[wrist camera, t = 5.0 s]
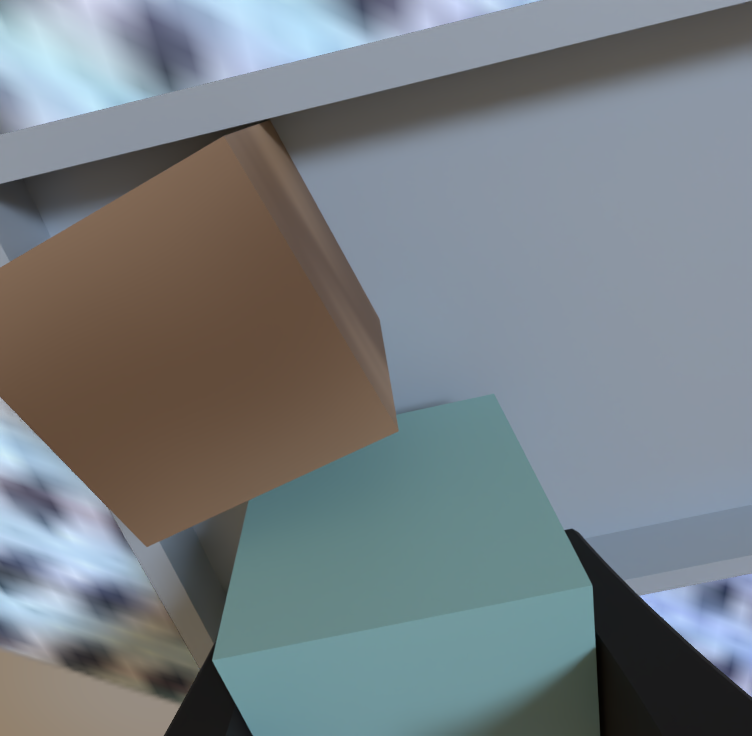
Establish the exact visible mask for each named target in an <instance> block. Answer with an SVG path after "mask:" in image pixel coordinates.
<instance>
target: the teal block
mask: <svg viewBox="0 0 752 736" xmlns="http://www.w3.org/2000/svg"><path fill="white" fill-rule="evenodd" d="M396 417H397V423H398V429H399V431H398V432H396V433H394V434H392V435H390V436H387V437H385V438H383V439H381V440H379V441H377V442H374V443H372V444H370V445H368V446H366V447H364V448H361V449H359V450H357V451H355V452H353V453H350V454H348V455H346V456H344V457H342V458H340V459H337V460H335V461H333V462H331V463H329V464H327V465H324V466H322V467H320V468H318V469H316V470H314V471H311V472H309V473H307V474H305V475H303V476H301V477H298V478H296V479H294V480H292V481H290V482H288V483H285V484H283V485H281V486H279V487H277V488H274V489H272V490H270V491H268V492H266V493H264V494H261V495H259V496H257V497H255V498H253V499H251V500H249V502H248V506H247V510H246V515H245V519H244V523H243V528H242V532H241V537H240V541H239V545H238V550H237V554H236V558H235V563H234V567H233V571H232V576H231V580H230V585H229V589H228V593H227V598H226V602H225V606H224V611H223V615H222V619H221V624H220V628H219V632H218V637H217V641H216V646H215V650H214V654H213V659H212V661H213V663H214V665H215V667H216V669H217V671H218V672H219V674H220V676H221V678H222V680H223V682H224V683H225V685H226V687H227V689H228V691H229V693H230V694H231V696H232V698H233V700H234V702H235V704H236V705H237V707H238V709H239V711H240V713H241V715H242V717H243V718H244V720H245V722H246V724H247V726H248V728H249V729H250V731H251V733H252V735H253V736H600V723H599V703H598V684H597V664H596V644H595V625H594V605H593V586H592V583H591V581H590V580H589V578H588V576H587V574H586V572H585V570H584V568H583V566H582V564H581V562H580V560H579V558H578V556H577V554H576V552H575V550H574V548H573V546H572V544H571V543H570V541H569V539H568V537H567V535H566V533H565V531H564V529H563V527H562V525H561V523H560V521H559V519H558V517H557V515H556V513H555V511H554V509H553V507H552V506H551V504H550V502H549V500H548V498H547V496H546V494H545V492H544V490H543V488H542V486H541V484H540V482H539V480H538V478H537V476H536V474H535V472H534V470H533V469H532V467H531V465H530V463H529V461H528V459H527V457H526V455H525V453H524V451H523V449H522V447H521V445H520V443H519V441H518V439H517V437H516V435H515V433H514V432H513V430H512V428H511V426H510V424H509V422H508V420H507V418H506V416H505V414H504V412H503V410H502V408H501V406H500V404H499V402H498V400H497V398H496V396H495V395H494V394H490V395H485V396H481V397H476V398H471V399H467V400H462V401H457V402H453V403H448V404H443V405H439V406H434V407H430V408H425V409H420V410H416V411H411V412H406V413H402V414H397V415H396Z"/></svg>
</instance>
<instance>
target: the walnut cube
mask: <svg viewBox="0 0 752 736" xmlns="http://www.w3.org/2000/svg"><path fill="white" fill-rule="evenodd" d="M0 397H1V398H2V399H3V400H4V401H5V402H6V403H7V404H8V405H9V406H10V407H11V408H12V409H13V410H14V411H15V412H16V413H17V414H18V415H19V417H20V418H21V419H22V420H23V421H24V422H25V423H26V424H27V425H28V426H29V427H30V428H31V429H32V430H33V431H34V432H35V433H36V434H37V435H38V436H39V437H40V438H41V439H42V440H43V441H44V442H45V443H46V444H47V445H48V446H49V447H50V448H51V449H52V450H53V452H54V453H55V454H56V455H57V456H58V457H59V458H60V459H61V460H62V461H63V462H64V463H65V464H66V465H67V466H68V467H69V468H70V469H71V470H72V471H73V472H74V473H75V474H76V475H77V476H78V477H79V478H80V479H81V480H82V481H83V482H84V483H85V484H86V485H87V486H88V488H89V489H90V490H91V491H92V492H93V493H94V494H95V495H96V496H97V497H98V498H99V499H100V500H101V501H102V502H103V503H104V504H105V505H106V506H107V507H108V508H109V509H110V510H111V511H112V512H113V513H114V514H115V515H116V516H117V517H118V518H119V519H120V520H121V521H122V523H123V524H124V525H125V526H126V527H127V528H128V529H129V530H130V531H131V532H132V533H133V534H134V535H135V536H136V537H137V538H138V539H139V540H140V541H141V542H142V543H143V544H144V545H145V546H146V547H149V546H151V545H153V544H155V543H157V542H159V541H162V540H164V539H166V538H168V537H170V536H172V535H175V534H177V533H179V532H181V531H183V530H185V529H188V528H190V527H192V526H194V525H196V524H198V523H201V522H203V521H205V520H207V519H209V518H212V517H214V516H216V515H218V514H220V513H222V512H225V511H227V510H229V509H231V508H233V507H235V506H238V505H240V504H242V503H244V502H246V501H248V500H251V499H253V498H255V497H257V496H259V495H261V494H264V493H266V492H268V491H270V490H272V489H274V488H277V487H279V486H281V485H283V484H285V483H288V482H290V481H292V480H294V479H296V478H298V477H301V476H303V475H305V474H307V473H309V472H311V471H314V470H316V469H318V468H320V467H322V466H324V465H327V464H329V463H331V462H333V461H335V460H337V459H340V458H342V457H344V456H346V455H348V454H350V453H353V452H355V451H357V450H359V449H361V448H364V447H366V446H368V445H370V444H372V443H374V442H377V441H379V440H381V439H383V438H385V437H387V436H390V435H392V434H394V433H396V432H398V431H399V429H398V423H397V417H396V411H395V406H394V400H393V394H392V388H391V382H390V376H389V371H388V365H387V359H386V353H385V347H384V341H383V336H382V330H381V324H380V319H379V317H378V315H377V314H376V312H375V310H374V308H373V306H372V304H371V303H370V301H369V299H368V297H367V295H366V293H365V292H364V290H363V288H362V286H361V284H360V283H359V281H358V279H357V277H356V275H355V273H354V272H353V270H352V268H351V266H350V264H349V263H348V261H347V259H346V257H345V255H344V253H343V252H342V250H341V248H340V246H339V244H338V243H337V241H336V239H335V237H334V235H333V233H332V232H331V230H330V228H329V226H328V224H327V223H326V221H325V219H324V217H323V215H322V213H321V212H320V210H319V208H318V206H317V204H316V202H315V201H314V199H313V197H312V195H311V193H310V192H309V190H308V188H307V186H306V184H305V182H304V181H303V179H302V177H301V175H300V173H299V172H298V170H297V168H296V166H295V164H294V162H293V161H292V159H291V157H290V155H289V153H288V152H287V150H286V148H285V146H284V144H283V142H282V141H281V139H280V137H279V135H278V133H277V132H276V130H275V128H274V126H273V124H272V122H271V121H270V120H269V121H266V122H263V123H260V124H257V125H254V126H251V127H248V128H245V129H243V130H240V131H237V132H234V133H231V134H228V135H225V136H223V137H221V138H219V139H218V140H216V141H214V142H213V143H211V144H209V145H207V146H206V147H204V148H202V149H201V150H199V151H197V152H196V153H194V154H192V155H190V156H189V157H187V158H185V159H184V160H182V161H180V162H179V163H177V164H175V165H173V166H172V167H170V168H168V169H167V170H165V171H163V172H162V173H160V174H158V175H156V176H155V177H153V178H151V179H150V180H148V181H146V182H145V183H143V184H141V185H139V186H138V187H136V188H134V189H133V190H131V191H129V192H128V193H126V194H124V195H122V196H121V197H119V198H117V199H116V200H114V201H112V202H111V203H109V204H107V205H105V206H104V207H102V208H100V209H99V210H97V211H95V212H94V213H92V214H90V215H89V216H87V217H85V218H83V219H82V220H80V221H78V222H77V223H75V224H73V225H72V226H70V227H68V228H66V229H65V230H63V231H61V232H60V233H58V234H56V235H55V236H53V237H51V238H49V239H48V240H46V241H44V242H43V243H41V244H39V245H38V246H36V247H34V248H32V249H31V250H29V251H27V252H26V253H24V254H22V255H21V256H19V257H17V258H15V259H14V260H12V261H10V262H9V263H7V264H5V265H4V266H2V267H0Z"/></svg>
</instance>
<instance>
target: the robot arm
mask: <svg viewBox="0 0 752 736" xmlns="http://www.w3.org/2000/svg"><path fill="white" fill-rule="evenodd" d="M564 531H565V533H566V535H567V537H568V539H569V541H570V543H571V544H572V546H573V548H574V550H575V552H576V554H577V556H578V558H579V560H580V562H581V564H582V566H583V568H584V570H585V572H586V574H587V576H588V578H589V580H590V581H591V583H592V586H593V605H594V625H595V644H596V664H597V684H598V703H599V723H600V736H752V697H751V696H749V695H748V694H747V693H746V692H745V691H744V690H742V689H741V688H740V687H739V686H738V685H737V684H735V683H734V682H733V681H732V680H731V679H729V678H728V677H727V676H726V675H725V674H724V673H722V672H721V671H720V670H719V669H718V668H717V667H715V666H714V665H713V664H712V663H711V662H710V661H709V660H707V659H706V658H705V657H704V656H703V655H702V654H701V653H700V652H698V651H697V650H696V649H695V648H694V647H693V646H692V645H691V644H689V643H688V642H687V641H686V640H685V639H684V638H683V637H682V636H681V635H680V634H679V633H678V632H677V631H675V630H674V629H673V628H672V627H671V626H670V625H669V624H668V623H667V622H666V621H665V620H664V619H663V618H662V617H660V616H659V615H658V614H657V613H656V612H655V611H654V610H653V609H652V608H651V607H650V606H649V605H648V604H647V603H646V602H645V601H644V600H643V599H642V598H641V597H640V596H639V595H638V594H637V593H635V591H634V590H633V589H632V588H631V587H630V586H629V585H628V584H627V583H626V582H625V581H624V580H623V579H622V578H621V577H620V576H619V575H618V574H617V573H616V572H615V571H614V570H613V569H612V568H611V567H610V566H609V565H608V564H607V563H606V562H605V561H604V560H603V559H602V558H601V556H600V555H599V554H598V553H597V552H596V551H595V550H594V549H593V548H592V547H591V546H590V544H589V543H588V542H587V541H586V540H585V539H584V538H583V536H582V535H581V534H580V533H579V532H577V531H576V530H574V529H567V530H564ZM216 641H217V639H216ZM216 641H215V642H214V644H213V646H212V648H211V650H210V652H209V654H208V656H207V658H206V660H205V662H204V664H203V665H202V667H201V669H200V671H199V673H198V675H197V677H196V679H195V681H194V682H193V684H192V686H191V688H190V690H189V692H188V693H187V695H186V697H185V699H184V701H183V702H182V704H181V706H180V708H179V710H178V711H177V713H176V715H175V717H174V719H173V720H172V722H171V724H170V726H169V728H168V729H167V731H166V733H165V735H164V736H253V735H252V733H251V731H250V729H249V728H248V726H247V724H246V722H245V720H244V718H243V717H242V715H241V713H240V711H239V709H238V707H237V705H236V704H235V702H234V700H233V698H232V696H231V694H230V693H229V691H228V689H227V687H226V685H225V683H224V682H223V680H222V678H221V676H220V674H219V672H218V671H217V669H216V667H215V665H214V663H213V661H212V659H213V654H214V650H215V646H216Z"/></svg>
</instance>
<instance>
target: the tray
mask: <svg viewBox="0 0 752 736" xmlns="http://www.w3.org/2000/svg"><path fill="white" fill-rule="evenodd" d="M269 120H270V121H271V122H272V124H273V126H274V128H275V130H276V132H277V133H278V135H279V137H280V139H281V141H282V142H283V144H284V146H285V148H286V150H287V152H288V153H289V155H290V157H291V159H292V161H293V162H294V164H295V166H296V168H297V170H298V172H299V173H300V175H301V177H302V179H303V181H304V182H305V184H306V186H307V188H308V190H309V192H310V193H311V195H312V197H313V199H314V201H315V202H316V204H317V206H318V208H319V210H320V212H321V213H322V215H323V217H324V219H325V221H326V223H327V224H328V226H329V228H330V230H331V232H332V233H333V235H334V237H335V239H336V241H337V243H338V244H339V246H340V248H341V250H342V252H343V253H344V255H345V257H346V259H347V261H348V263H349V264H350V266H351V268H352V270H353V272H354V273H355V275H356V277H357V279H358V281H359V283H360V284H361V286H362V288H363V290H364V292H365V293H366V295H367V297H368V299H369V301H370V303H371V304H372V306H373V308H374V310H375V312H376V314H377V315H378V317H379V319H380V324H381V330H382V336H383V341H384V347H385V353H386V359H387V365H388V371H389V376H390V382H391V388H392V394H393V400H394V406H395V411H396V415H397V414H402V413H406V412H411V411H416V410H420V409H425V408H430V407H434V406H439V405H443V404H448V403H453V402H457V401H462V400H467V399H471V398H476V397H481V396H485V395H490V394H494V395H495V396H496V398H497V400H498V402H499V404H500V406H501V408H502V410H503V412H504V414H505V416H506V418H507V420H508V422H509V424H510V426H511V428H512V430H513V432H514V433H515V435H516V437H517V439H518V441H519V443H520V445H521V447H522V449H523V451H524V453H525V455H526V457H527V459H528V461H529V463H530V465H531V467H532V469H533V470H534V472H535V474H536V476H537V478H538V480H539V482H540V484H541V486H542V488H543V490H544V492H545V494H546V496H547V498H548V500H549V502H550V504H551V506H552V507H553V509H554V511H555V513H556V515H557V517H558V519H559V521H560V523H561V525H562V527H563V529H564V530H567V529H574V530H576V531H577V532H579V533H580V534H581V535H582V536H583V538H584V539H585V540H586V541H587V542H588V543H589V544H590V546H591V547H592V548H593V549H594V550H595V551H596V552H597V553H598V554H599V555H600V556H601V558H602V559H603V560H604V561H605V562H606V563H607V564H608V565H609V566H610V567H611V568H612V569H613V570H614V571H615V572H616V573H617V574H618V575H619V576H620V577H621V578H622V579H623V580H624V581H625V582H626V583H627V584H628V585H629V586H630V587H631V588H632V589H633V590H634V591H635V593H637V594H638V595H645V594H650V593H655V592H660V591H665V590H670V589H675V588H680V587H685V586H690V585H695V584H700V583H705V582H711V581H716V580H721V579H726V578H731V577H736V576H741V575H746V574H751V573H752V0H541V1H537V2H533V3H529V4H525V5H521V6H517V7H513V8H509V9H505V10H501V11H497V12H493V13H489V14H485V15H481V16H477V17H473V18H469V19H465V20H461V21H457V22H452V23H448V24H444V25H440V26H436V27H432V28H428V29H424V30H420V31H416V32H412V33H408V34H404V35H400V36H396V37H392V38H388V39H384V40H380V41H376V42H372V43H368V44H364V45H360V46H356V47H352V48H348V49H344V50H340V51H336V52H332V53H328V54H324V55H319V56H315V57H311V58H307V59H303V60H299V61H295V62H291V63H287V64H283V65H279V66H275V67H271V68H267V69H263V70H259V71H255V72H251V73H247V74H243V75H239V76H235V77H231V78H227V79H223V80H219V81H215V82H211V83H207V84H203V85H199V86H195V87H191V88H186V89H182V90H178V91H174V92H170V93H166V94H162V95H158V96H154V97H150V98H146V99H142V100H138V101H134V102H130V103H126V104H122V105H118V106H114V107H110V108H106V109H102V110H98V111H94V112H90V113H86V114H82V115H78V116H74V117H70V118H66V119H62V120H58V121H53V122H49V123H45V124H41V125H37V126H33V127H29V128H25V129H21V130H17V131H13V132H9V133H5V134H1V135H0V267H2V266H4V265H5V264H7V263H9V262H10V261H12V260H14V259H15V258H17V257H19V256H21V255H22V254H24V253H26V252H27V251H29V250H31V249H32V248H34V247H36V246H38V245H39V244H41V243H43V242H44V241H46V240H48V239H49V238H51V237H53V236H55V235H56V234H58V233H60V232H61V231H63V230H65V229H66V228H68V227H70V226H72V225H73V224H75V223H77V222H78V221H80V220H82V219H83V218H85V217H87V216H89V215H90V214H92V213H94V212H95V211H97V210H99V209H100V208H102V207H104V206H105V205H107V204H109V203H111V202H112V201H114V200H116V199H117V198H119V197H121V196H122V195H124V194H126V193H128V192H129V191H131V190H133V189H134V188H136V187H138V186H139V185H141V184H143V183H145V182H146V181H148V180H150V179H151V178H153V177H155V176H156V175H158V174H160V173H162V172H163V171H165V170H167V169H168V168H170V167H172V166H173V165H175V164H177V163H179V162H180V161H182V160H184V159H185V158H187V157H189V156H190V155H192V154H194V153H196V152H197V151H199V150H201V149H202V148H204V147H206V146H207V145H209V144H211V143H213V142H214V141H216V140H218V139H219V138H221V137H223V136H225V135H228V134H231V133H234V132H237V131H240V130H243V129H245V128H248V127H251V126H254V125H257V124H260V123H263V122H266V121H269ZM248 502H249V500H248V501H246V502H244V503H242V504H240V505H238V506H235V507H233V508H231V509H229V510H227V511H225V512H222V513H220V514H218V515H216V516H214V517H212V518H209V519H207V520H205V521H203V522H201V523H198V524H196V525H194V526H192V527H190V528H188V529H185V530H183V531H181V532H179V533H177V534H175V535H172V536H170V537H168V538H166V539H164V540H162V541H159V542H157V543H155V544H153V545H151V546H149V547H146V546H145V545H144V544H143V543H142V542H141V541H140V540H139V539H138V538H137V537H136V536H135V535H134V534H133V533H132V532H131V531H130V530H129V529H128V528H127V527H126V526H125V525H124V524H123V523H122V521H121V520H120V519H119V518H118V517H117V516H116V515H115V514H114V513H113V512H112V511H111V510H110V509H109V510H110V512H111V514H112V515H113V517H114V519H115V521H116V522H117V524H118V526H119V528H120V529H121V531H122V533H123V535H124V536H125V538H126V540H127V542H128V543H129V545H130V547H131V549H132V551H133V552H134V554H135V556H136V558H137V559H138V561H139V563H140V565H141V566H142V568H143V570H144V572H145V573H146V575H147V577H148V579H149V580H150V582H151V584H152V586H153V587H154V589H155V591H156V593H157V594H158V596H159V598H160V600H161V602H162V603H163V605H164V607H165V609H166V610H167V612H168V614H169V616H170V617H171V619H172V621H173V623H174V624H175V626H176V628H177V630H178V631H179V633H180V635H181V637H182V638H183V640H184V642H185V644H186V645H187V647H188V649H189V651H190V652H191V654H192V656H193V658H194V660H195V661H196V663H197V665H198V667H199V668H200V669H201V667H202V665H203V664H204V662H205V660H206V658H207V656H208V654H209V652H210V650H211V648H212V646H213V644H214V642H215V641H216V639H217V637H218V632H219V628H220V624H221V619H222V615H223V611H224V606H225V602H226V598H227V593H228V589H229V585H230V580H231V576H232V571H233V567H234V563H235V558H236V554H237V550H238V545H239V541H240V537H241V532H242V528H243V523H244V519H245V515H246V510H247V506H248Z"/></svg>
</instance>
